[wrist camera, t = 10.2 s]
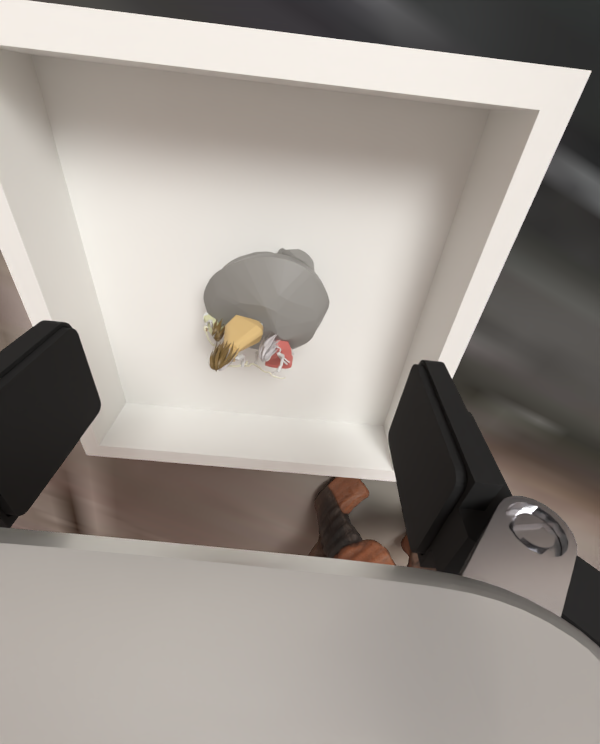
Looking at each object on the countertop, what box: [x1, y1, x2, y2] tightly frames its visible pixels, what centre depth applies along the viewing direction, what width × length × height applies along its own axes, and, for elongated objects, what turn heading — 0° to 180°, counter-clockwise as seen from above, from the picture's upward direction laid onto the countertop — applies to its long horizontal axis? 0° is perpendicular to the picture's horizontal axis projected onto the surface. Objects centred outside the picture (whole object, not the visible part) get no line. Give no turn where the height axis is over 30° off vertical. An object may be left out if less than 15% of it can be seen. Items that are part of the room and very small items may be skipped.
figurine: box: [203, 248, 330, 379], centre depth 13 cm, size 5×4×6 cm
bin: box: [0, 0, 591, 482], centre depth 14 cm, size 16×16×4 cm
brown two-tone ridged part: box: [308, 477, 436, 571], centre depth 24 cm, size 12×10×8 cm
